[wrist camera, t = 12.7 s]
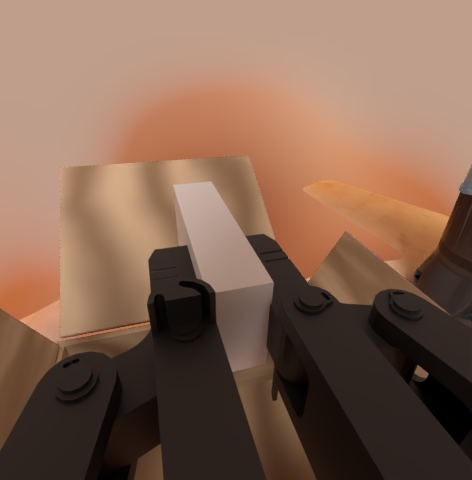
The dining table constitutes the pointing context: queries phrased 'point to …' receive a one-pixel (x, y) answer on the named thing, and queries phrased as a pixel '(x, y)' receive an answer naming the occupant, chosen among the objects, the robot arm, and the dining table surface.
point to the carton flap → (134, 231)
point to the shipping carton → (247, 380)
